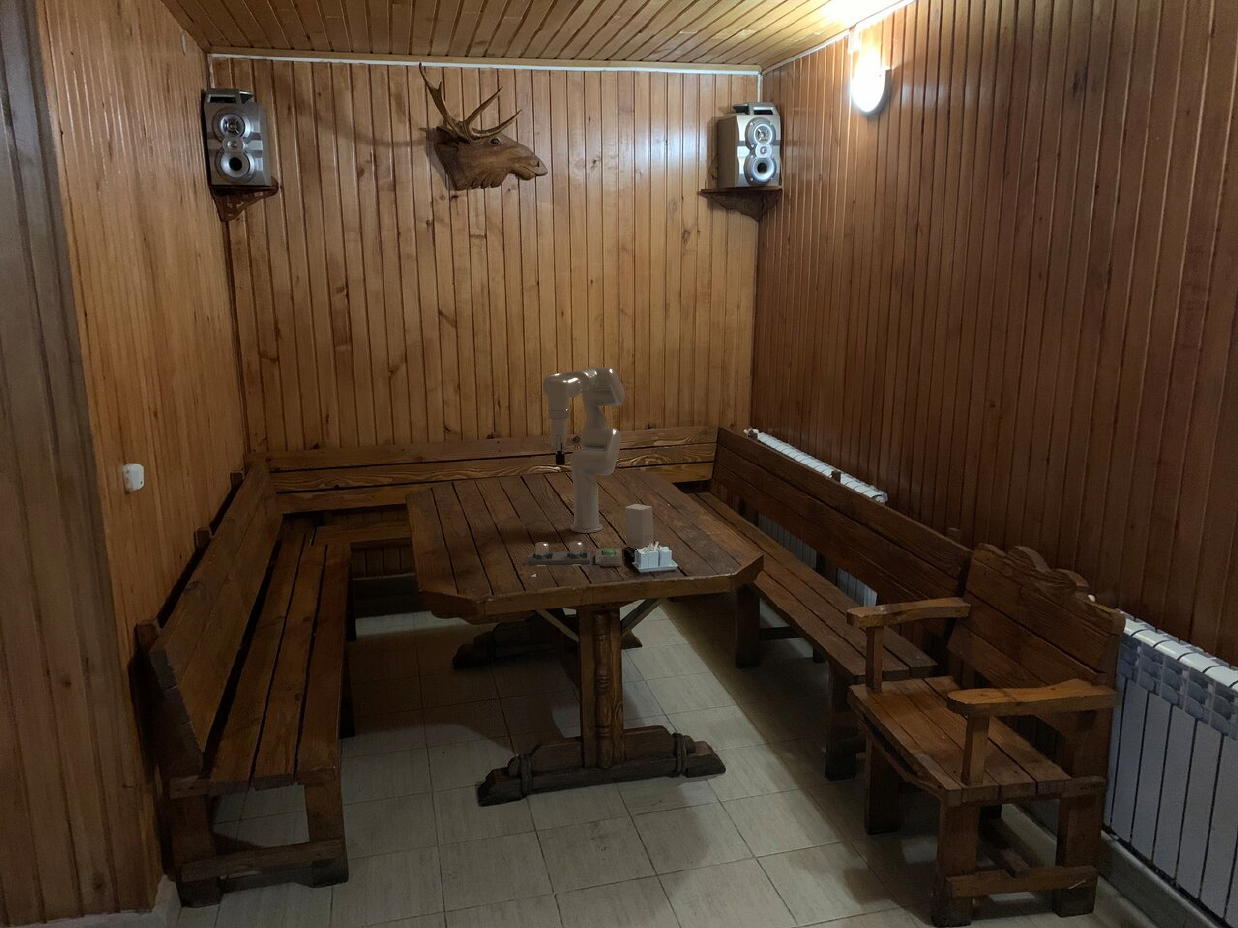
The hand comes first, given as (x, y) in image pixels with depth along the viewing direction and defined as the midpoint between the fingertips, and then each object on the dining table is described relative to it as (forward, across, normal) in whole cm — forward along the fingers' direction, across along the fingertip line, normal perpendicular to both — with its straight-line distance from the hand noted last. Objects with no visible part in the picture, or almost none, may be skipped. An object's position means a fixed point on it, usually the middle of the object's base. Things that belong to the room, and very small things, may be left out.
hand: (560, 464), depth 323 cm
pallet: (+31, +18, 0) cm, 36 cm away
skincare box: (+31, +2, +28) cm, 42 cm away
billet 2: (+30, +18, +6) cm, 35 cm away
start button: (+30, +18, +17) cm, 39 cm away
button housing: (+31, +18, +17) cm, 40 cm away
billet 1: (+30, +18, -6) cm, 36 cm away
